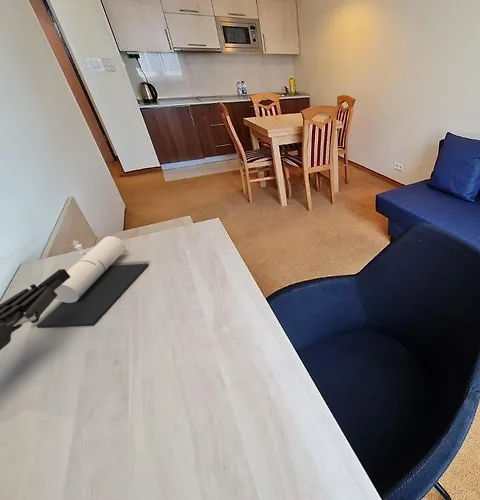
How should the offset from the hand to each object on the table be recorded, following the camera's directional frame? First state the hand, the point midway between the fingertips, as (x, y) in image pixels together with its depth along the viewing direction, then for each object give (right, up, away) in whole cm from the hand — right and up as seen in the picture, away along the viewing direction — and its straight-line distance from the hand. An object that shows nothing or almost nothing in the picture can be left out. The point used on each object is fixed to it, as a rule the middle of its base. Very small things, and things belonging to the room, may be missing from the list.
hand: (64, 273), depth 81 cm
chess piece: (-13, +1, +23) cm, 27 cm away
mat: (+1, -7, +10) cm, 12 cm away
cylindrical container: (-4, -6, +4) cm, 9 cm away
